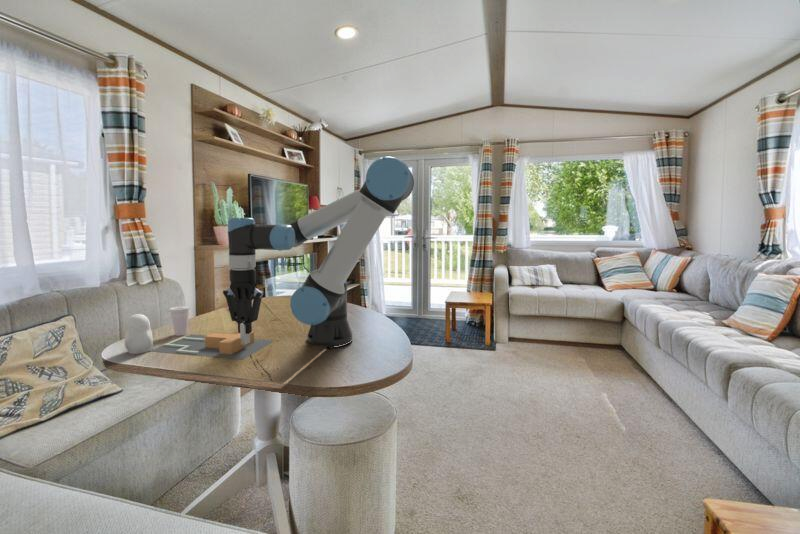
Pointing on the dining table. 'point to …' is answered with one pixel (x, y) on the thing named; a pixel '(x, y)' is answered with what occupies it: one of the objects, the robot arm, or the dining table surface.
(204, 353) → the mat
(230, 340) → the t block
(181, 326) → the smoothie
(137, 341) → the figurine
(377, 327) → the dining table surface
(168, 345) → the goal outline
